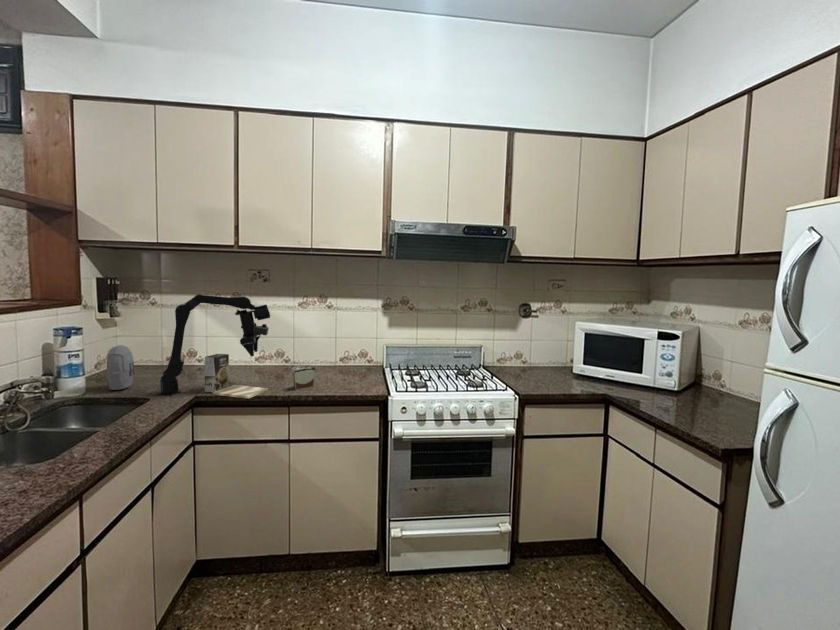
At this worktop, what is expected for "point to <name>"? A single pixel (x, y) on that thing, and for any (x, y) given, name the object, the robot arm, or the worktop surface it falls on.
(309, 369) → the food container
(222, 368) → the coffee box
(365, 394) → the worktop surface
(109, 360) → the grey rounded bag
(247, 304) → the robot arm
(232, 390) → the cutting board
